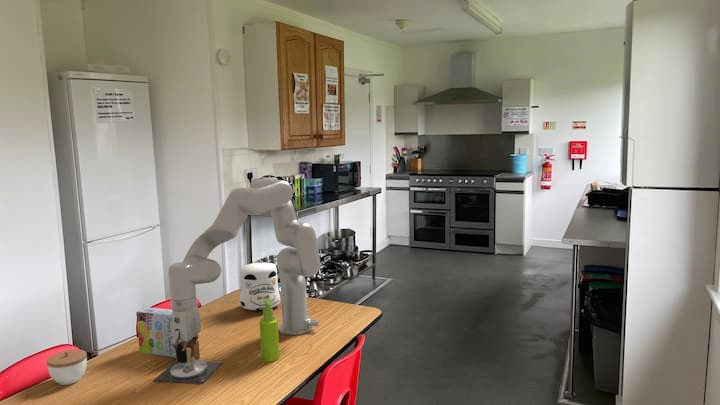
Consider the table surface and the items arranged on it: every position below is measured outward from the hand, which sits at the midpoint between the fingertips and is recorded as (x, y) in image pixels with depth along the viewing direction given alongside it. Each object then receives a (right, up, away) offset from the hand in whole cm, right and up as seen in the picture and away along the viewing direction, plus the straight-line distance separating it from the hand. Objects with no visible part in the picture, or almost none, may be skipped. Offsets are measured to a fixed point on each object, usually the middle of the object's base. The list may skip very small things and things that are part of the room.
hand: (188, 356), depth 164 cm
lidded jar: (-36, -7, -3) cm, 37 cm away
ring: (0, -1, 0) cm, 1 cm away
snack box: (-12, -4, +16) cm, 20 cm away
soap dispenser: (+25, -4, +9) cm, 26 cm away
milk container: (+11, +3, +60) cm, 61 cm away
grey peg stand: (0, -5, +1) cm, 5 cm away
